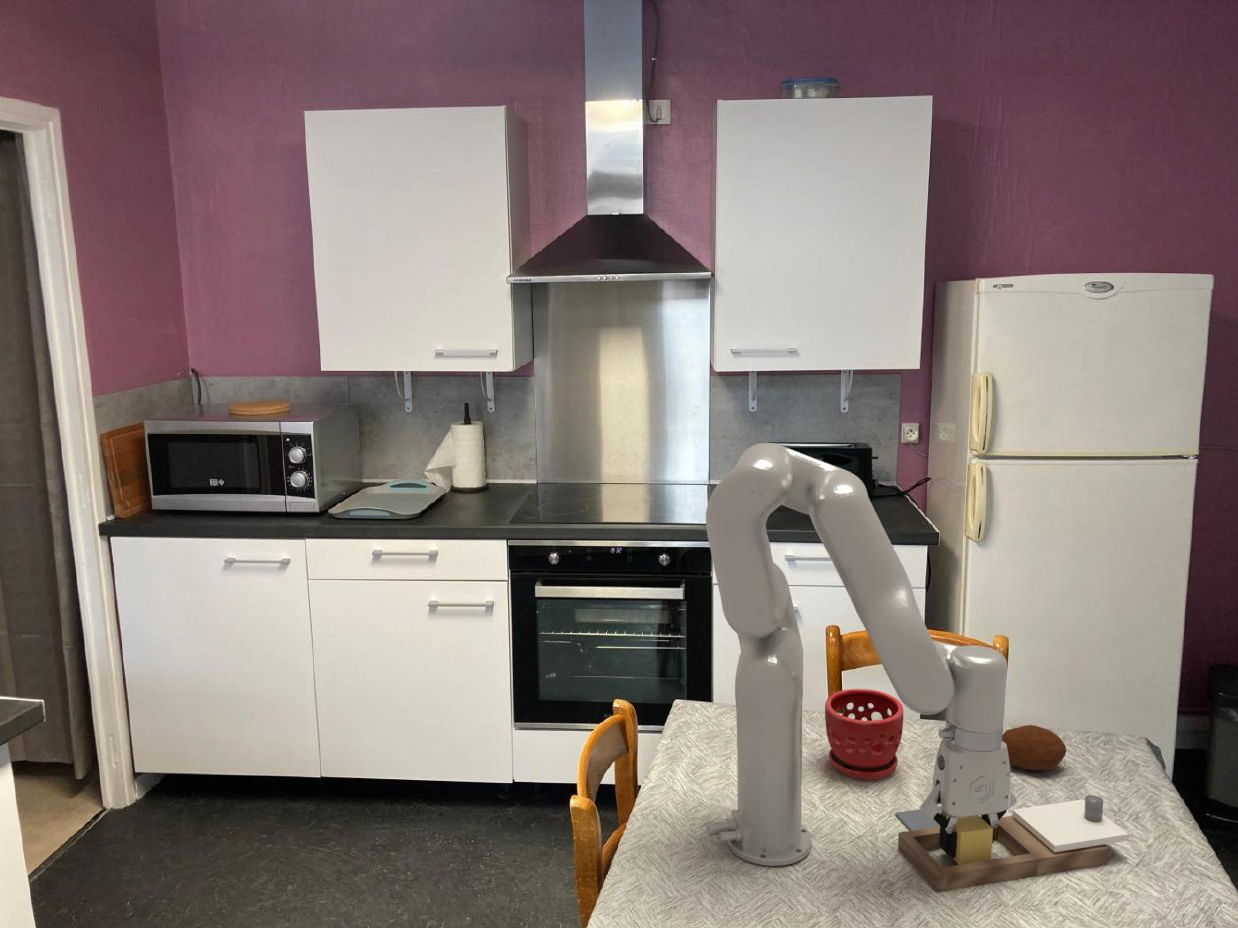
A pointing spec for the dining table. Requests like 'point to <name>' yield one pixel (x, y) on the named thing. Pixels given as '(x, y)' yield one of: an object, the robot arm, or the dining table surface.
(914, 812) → the mat
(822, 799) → the dining table surface
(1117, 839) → the lid
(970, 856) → the block
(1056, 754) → the potato
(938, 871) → the brown box
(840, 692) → the plant pot
